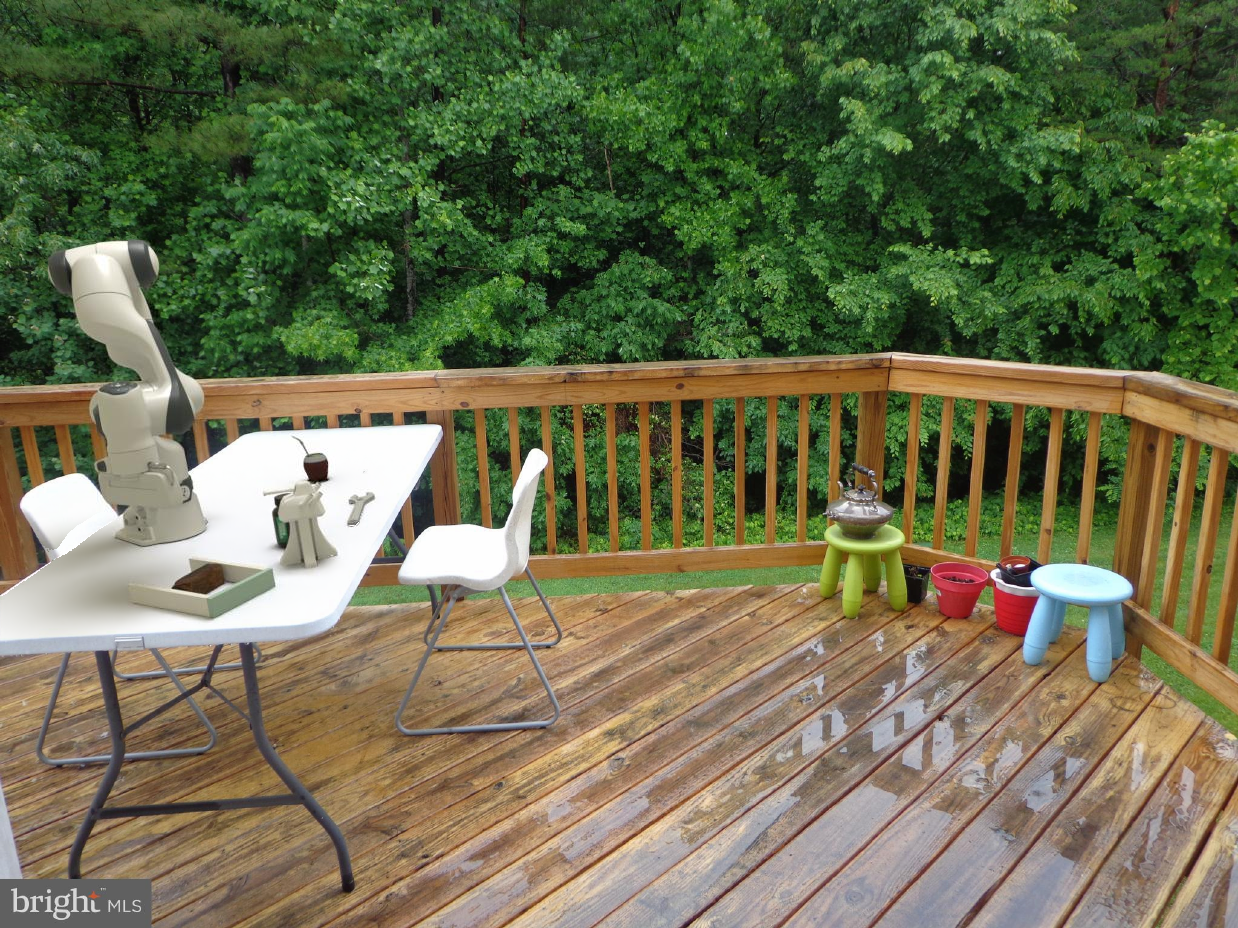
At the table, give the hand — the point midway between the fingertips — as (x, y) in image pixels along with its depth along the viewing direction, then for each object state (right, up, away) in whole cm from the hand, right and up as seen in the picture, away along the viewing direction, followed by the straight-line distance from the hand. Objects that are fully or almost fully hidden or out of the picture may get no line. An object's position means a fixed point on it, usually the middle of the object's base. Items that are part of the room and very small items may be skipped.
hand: (149, 525), depth 180 cm
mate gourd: (+8, +7, +78) cm, 79 cm away
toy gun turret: (+27, -9, +16) cm, 33 cm away
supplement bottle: (+20, -6, +26) cm, 34 cm away
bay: (+12, -14, -1) cm, 18 cm away
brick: (+11, -14, 0) cm, 18 cm away
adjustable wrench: (+29, 0, +48) cm, 56 cm away
